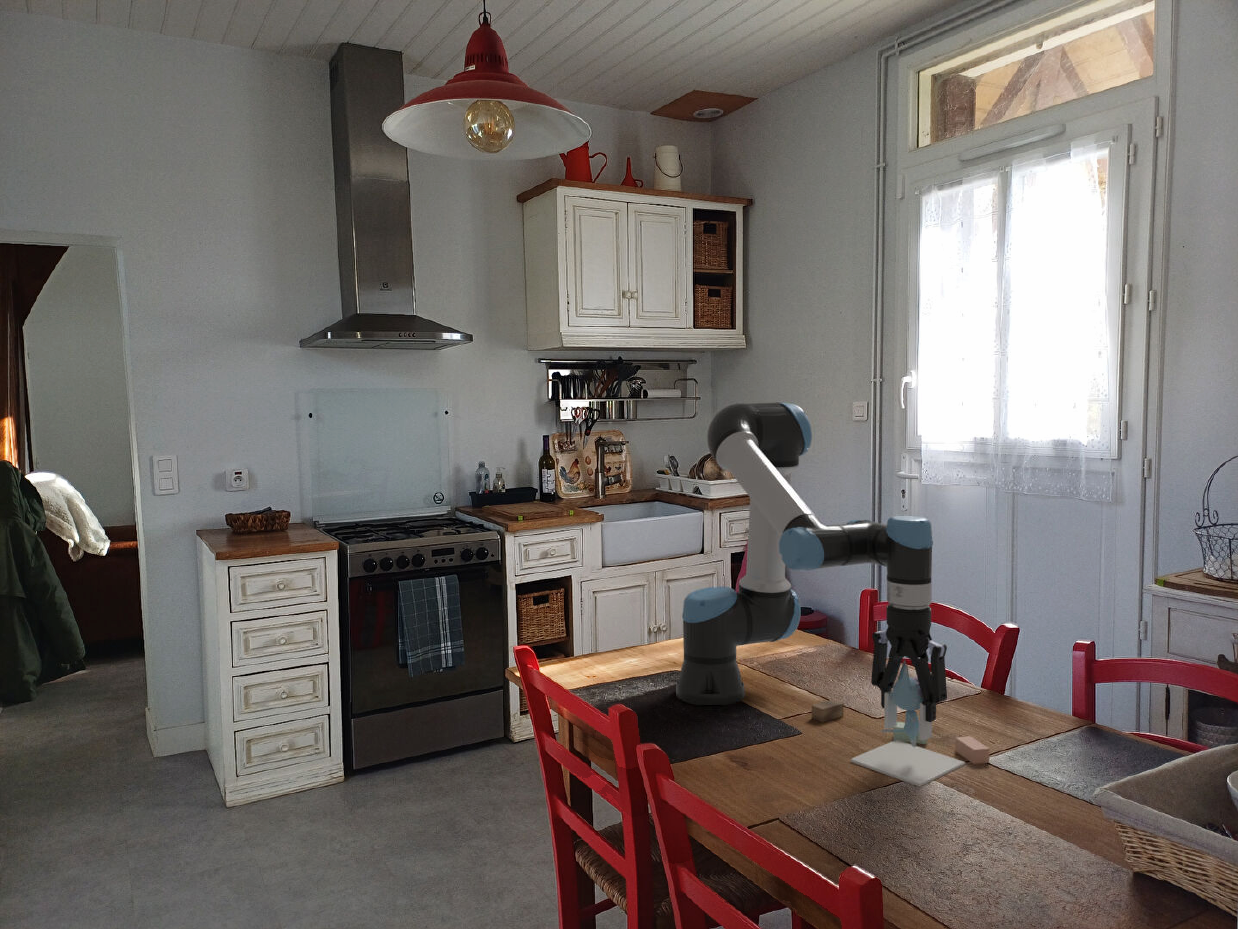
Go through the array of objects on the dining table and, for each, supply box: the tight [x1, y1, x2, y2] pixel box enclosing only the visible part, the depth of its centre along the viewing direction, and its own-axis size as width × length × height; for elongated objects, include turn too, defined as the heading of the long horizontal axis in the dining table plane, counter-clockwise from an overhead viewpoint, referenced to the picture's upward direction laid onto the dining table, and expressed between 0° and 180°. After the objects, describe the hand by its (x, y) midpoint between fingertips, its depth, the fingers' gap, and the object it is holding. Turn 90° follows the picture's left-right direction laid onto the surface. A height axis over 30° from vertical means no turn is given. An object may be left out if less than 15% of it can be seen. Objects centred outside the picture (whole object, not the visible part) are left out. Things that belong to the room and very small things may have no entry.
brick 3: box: [954, 735, 990, 765], centre depth 162 cm, size 6×3×3 cm, turn 11°
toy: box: [881, 659, 924, 747], centre depth 160 cm, size 7×6×15 cm
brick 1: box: [811, 699, 845, 723], centre depth 184 cm, size 6×3×3 cm, turn 123°
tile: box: [850, 740, 966, 787], centre depth 160 cm, size 14×14×1 cm
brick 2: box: [892, 721, 928, 745], centre depth 171 cm, size 6×3×3 cm, turn 69°
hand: (907, 732), depth 160 cm, fingers closed on toy, 6 cm apart
